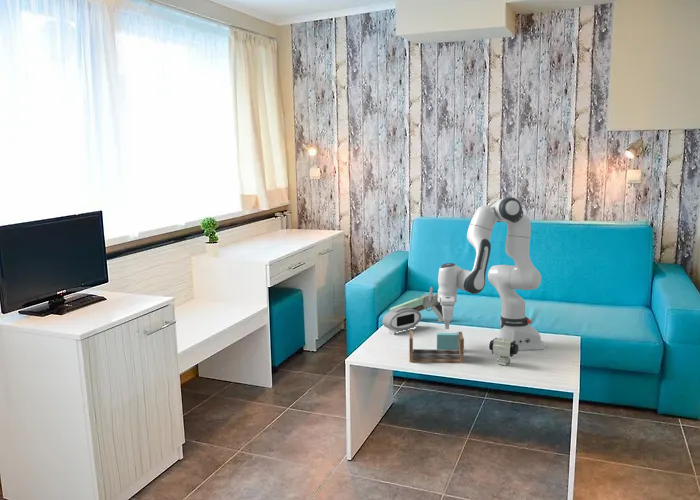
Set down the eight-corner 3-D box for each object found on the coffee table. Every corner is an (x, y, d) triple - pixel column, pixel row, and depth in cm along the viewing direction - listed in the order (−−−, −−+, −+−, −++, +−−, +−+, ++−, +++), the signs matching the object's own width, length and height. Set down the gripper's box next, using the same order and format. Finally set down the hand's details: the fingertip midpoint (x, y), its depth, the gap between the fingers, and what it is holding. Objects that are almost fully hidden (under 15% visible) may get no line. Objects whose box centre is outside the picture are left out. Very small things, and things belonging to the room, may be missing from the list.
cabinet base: (461, 354, 277) (461, 331, 275) (463, 363, 265) (463, 339, 263) (409, 353, 279) (409, 331, 278) (409, 362, 267) (409, 338, 266)
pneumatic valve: (492, 360, 268) (493, 334, 266) (518, 365, 261) (518, 338, 260) (487, 364, 263) (488, 337, 262) (513, 368, 257) (514, 341, 255)
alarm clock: (390, 336, 310) (390, 312, 308) (382, 333, 314) (382, 309, 313) (421, 328, 324) (421, 305, 322) (413, 325, 329) (413, 303, 327)
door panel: (457, 349, 286) (457, 333, 284) (458, 351, 282) (458, 335, 281) (436, 348, 287) (436, 332, 285) (437, 351, 283) (437, 334, 282)
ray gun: (452, 318, 332) (438, 285, 331) (399, 337, 340) (385, 305, 338) (452, 315, 339) (439, 283, 338) (400, 334, 347) (387, 302, 345)
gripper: (439, 293, 292) (438, 321, 293) (441, 301, 271) (440, 331, 273) (452, 293, 291) (451, 321, 293) (455, 302, 271) (454, 331, 272)
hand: (446, 326), depth 283 cm, fingers open, 8 cm apart
